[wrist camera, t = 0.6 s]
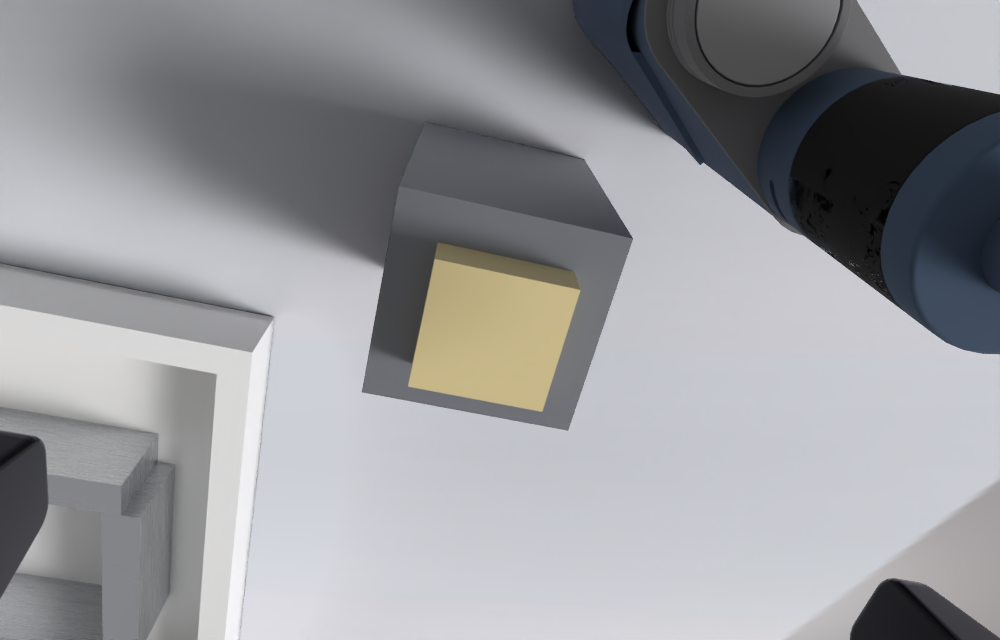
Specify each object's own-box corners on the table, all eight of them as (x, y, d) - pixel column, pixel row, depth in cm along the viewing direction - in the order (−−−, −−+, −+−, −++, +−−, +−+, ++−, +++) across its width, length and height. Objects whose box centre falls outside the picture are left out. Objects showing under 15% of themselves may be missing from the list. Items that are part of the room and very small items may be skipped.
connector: (542, 302, 19) (573, 456, 13) (396, 272, 18) (354, 416, 12) (583, 159, 17) (643, 255, 11) (425, 121, 17) (392, 199, 10)
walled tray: (236, 663, 24) (217, 717, 23) (-130, 614, 23) (-182, 667, 21) (274, 317, 19) (252, 352, 17) (-214, 221, 17) (-296, 248, 15)
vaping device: (682, 164, 17) (1032, 466, 6) (546, -10, 15) (709, -10, 4) (770, 91, 16) (1337, 290, 6) (639, -99, 15) (1095, -355, 4)
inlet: (168, 615, 23) (137, 678, 21) (-70, 582, 22) (-128, 644, 20) (176, 436, 20) (140, 489, 18) (-101, 389, 19) (-172, 438, 17)
